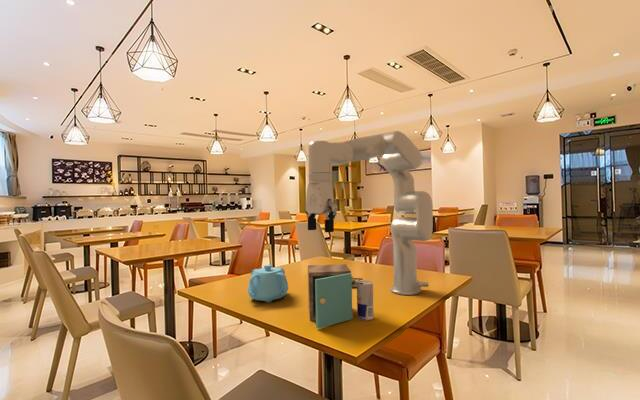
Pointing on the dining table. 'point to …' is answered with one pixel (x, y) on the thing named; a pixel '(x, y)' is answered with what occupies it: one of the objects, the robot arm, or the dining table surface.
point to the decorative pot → (267, 284)
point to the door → (333, 299)
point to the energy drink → (365, 300)
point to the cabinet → (318, 273)
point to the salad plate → (355, 281)
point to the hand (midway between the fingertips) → (320, 231)
